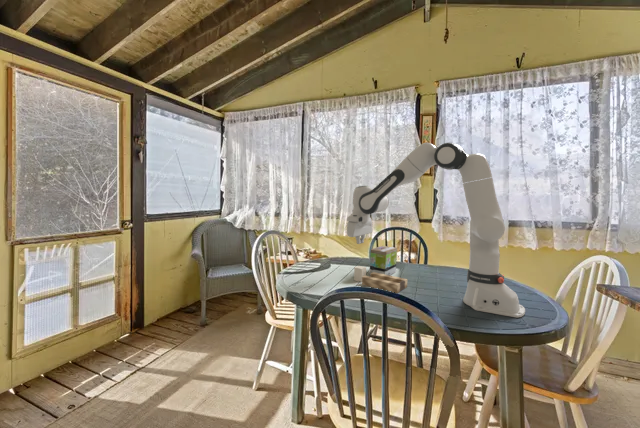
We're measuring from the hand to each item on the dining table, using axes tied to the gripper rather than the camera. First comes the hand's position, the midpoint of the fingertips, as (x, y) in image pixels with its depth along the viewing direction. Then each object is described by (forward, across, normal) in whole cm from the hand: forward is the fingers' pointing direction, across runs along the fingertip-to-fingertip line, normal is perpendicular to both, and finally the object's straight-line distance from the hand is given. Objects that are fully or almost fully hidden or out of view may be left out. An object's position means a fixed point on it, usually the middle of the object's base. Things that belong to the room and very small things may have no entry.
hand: (360, 243), depth 157 cm
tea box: (+20, -19, +4) cm, 28 cm away
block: (+20, 0, 0) cm, 20 cm away
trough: (+20, 0, +15) cm, 24 cm away
